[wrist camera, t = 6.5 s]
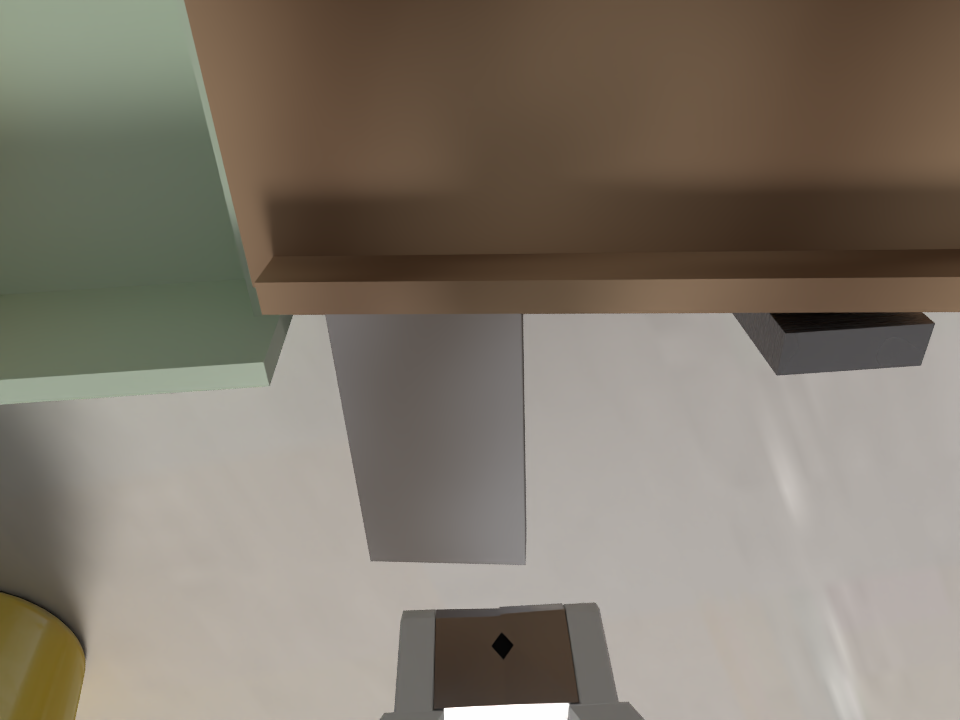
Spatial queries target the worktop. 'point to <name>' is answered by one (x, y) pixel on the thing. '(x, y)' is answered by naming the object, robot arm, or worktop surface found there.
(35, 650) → the plant pot
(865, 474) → the worktop surface
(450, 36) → the lever
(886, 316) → the fulcrum
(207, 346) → the tray
